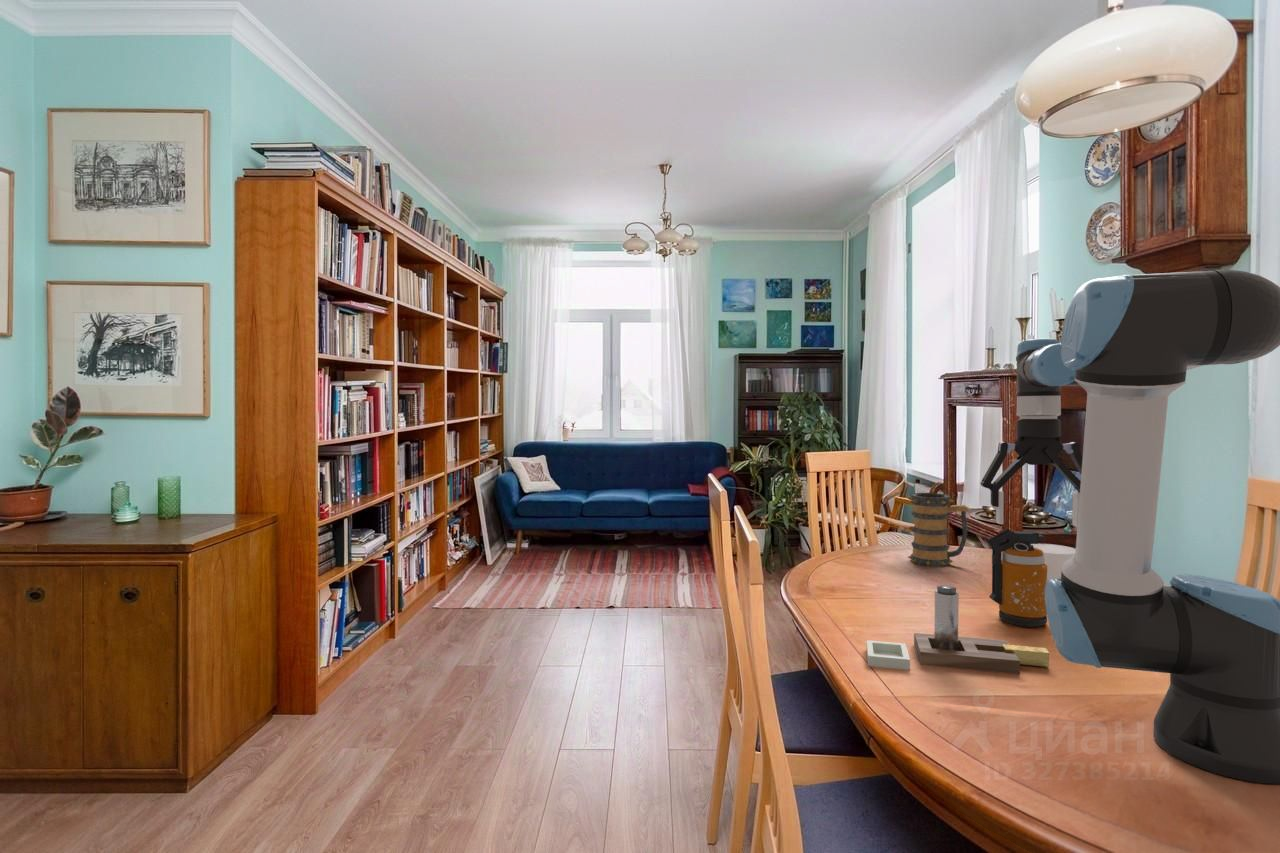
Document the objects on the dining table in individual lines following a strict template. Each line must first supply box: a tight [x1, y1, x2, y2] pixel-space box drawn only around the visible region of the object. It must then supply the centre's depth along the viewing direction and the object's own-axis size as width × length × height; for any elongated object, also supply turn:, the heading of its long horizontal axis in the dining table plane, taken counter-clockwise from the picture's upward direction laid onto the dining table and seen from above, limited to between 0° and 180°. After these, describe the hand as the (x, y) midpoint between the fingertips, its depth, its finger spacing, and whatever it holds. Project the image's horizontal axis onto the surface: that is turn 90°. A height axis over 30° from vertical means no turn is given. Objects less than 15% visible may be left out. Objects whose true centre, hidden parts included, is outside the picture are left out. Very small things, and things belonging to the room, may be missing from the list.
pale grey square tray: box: [866, 639, 911, 671], centre depth 122 cm, size 8×7×2 cm
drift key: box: [1002, 644, 1050, 668], centre depth 119 cm, size 2×7×2 cm, turn 73°
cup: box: [1031, 543, 1076, 580], centre depth 160 cm, size 12×12×12 cm
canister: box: [988, 528, 1048, 628], centre depth 143 cm, size 9×11×20 cm
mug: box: [906, 492, 972, 568], centre depth 194 cm, size 13×17×20 cm
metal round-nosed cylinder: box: [933, 584, 960, 651], centre depth 122 cm, size 4×4×13 cm
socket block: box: [913, 632, 1021, 675], centre depth 122 cm, size 10×16×3 cm, turn 73°
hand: (1037, 524), depth 132 cm, fingers open, 13 cm apart
